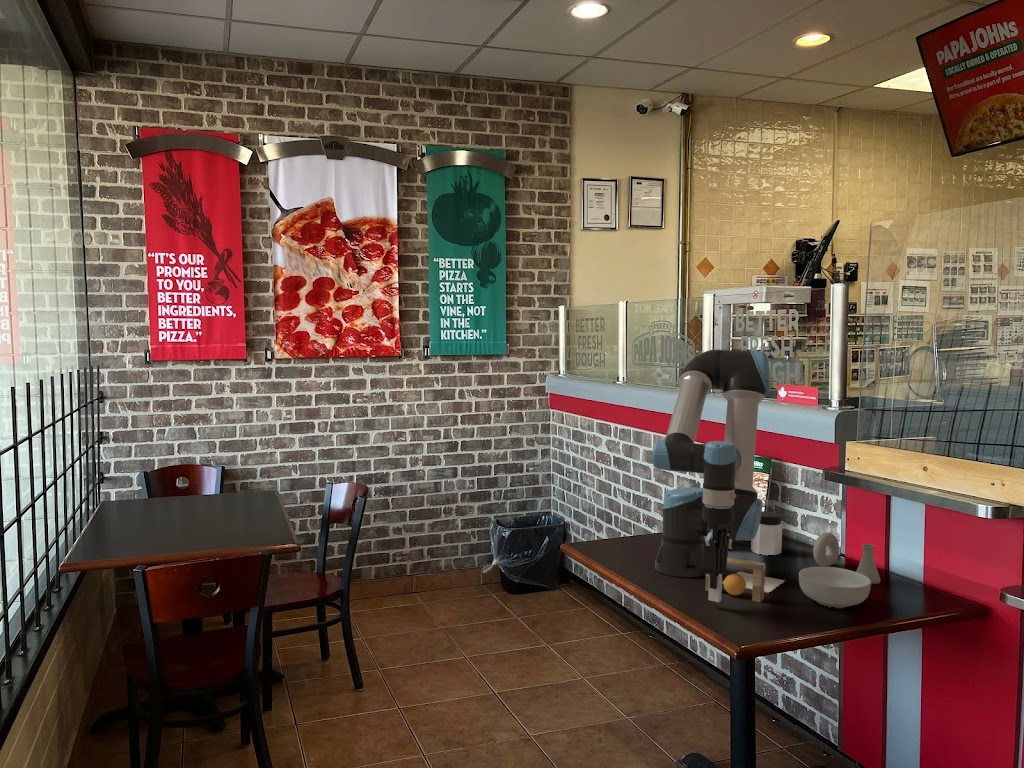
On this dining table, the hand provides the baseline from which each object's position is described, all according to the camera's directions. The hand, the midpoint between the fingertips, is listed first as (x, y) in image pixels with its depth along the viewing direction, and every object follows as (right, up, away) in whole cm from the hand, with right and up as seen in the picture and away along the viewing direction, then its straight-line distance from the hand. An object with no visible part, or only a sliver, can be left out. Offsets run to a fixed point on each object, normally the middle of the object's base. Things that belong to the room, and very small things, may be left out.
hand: (714, 600), depth 203 cm
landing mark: (+16, -1, +22) cm, 27 cm away
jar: (+29, +1, +53) cm, 61 cm away
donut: (+42, 0, +39) cm, 57 cm away
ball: (+8, +1, +10) cm, 13 cm away
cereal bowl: (+31, -3, +6) cm, 32 cm away
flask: (+48, -2, +26) cm, 55 cm away
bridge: (+8, -1, +11) cm, 13 cm away
